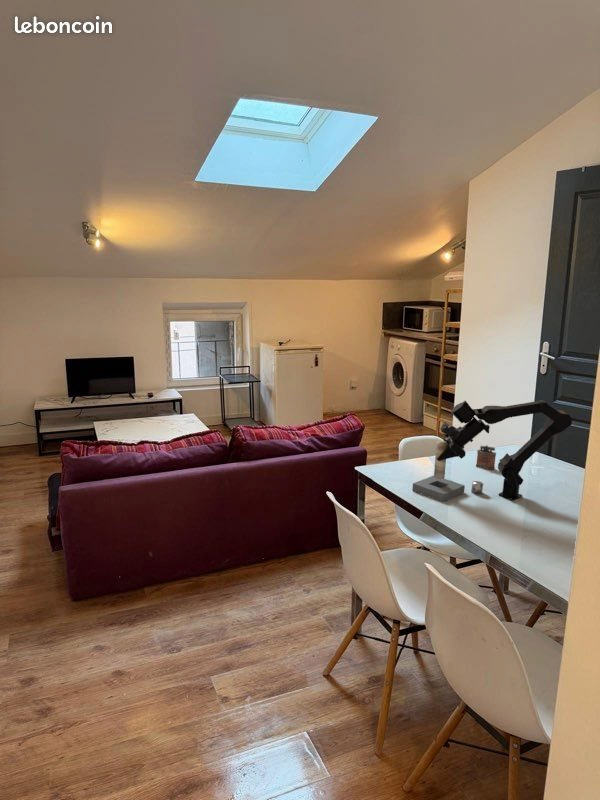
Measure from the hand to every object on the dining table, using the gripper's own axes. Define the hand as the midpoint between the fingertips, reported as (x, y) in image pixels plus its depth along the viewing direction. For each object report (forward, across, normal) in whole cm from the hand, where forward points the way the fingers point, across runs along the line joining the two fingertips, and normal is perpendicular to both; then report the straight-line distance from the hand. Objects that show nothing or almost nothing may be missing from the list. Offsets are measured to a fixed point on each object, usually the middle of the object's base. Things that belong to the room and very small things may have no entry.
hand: (437, 458), depth 201 cm
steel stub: (-2, -1, +21) cm, 21 cm away
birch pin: (+4, 0, +6) cm, 8 cm away
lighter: (-8, -32, +28) cm, 43 cm away
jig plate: (+9, 0, +10) cm, 14 cm away
